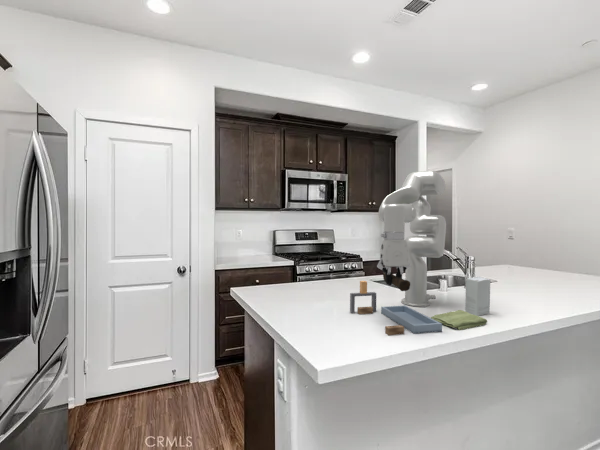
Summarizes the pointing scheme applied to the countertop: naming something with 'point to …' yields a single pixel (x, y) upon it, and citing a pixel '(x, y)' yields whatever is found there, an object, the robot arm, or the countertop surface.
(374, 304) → the gray arch frame
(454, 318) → the washcloth
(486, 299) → the skincare box
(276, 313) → the countertop surface
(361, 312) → the cradle
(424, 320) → the tray
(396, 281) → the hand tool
